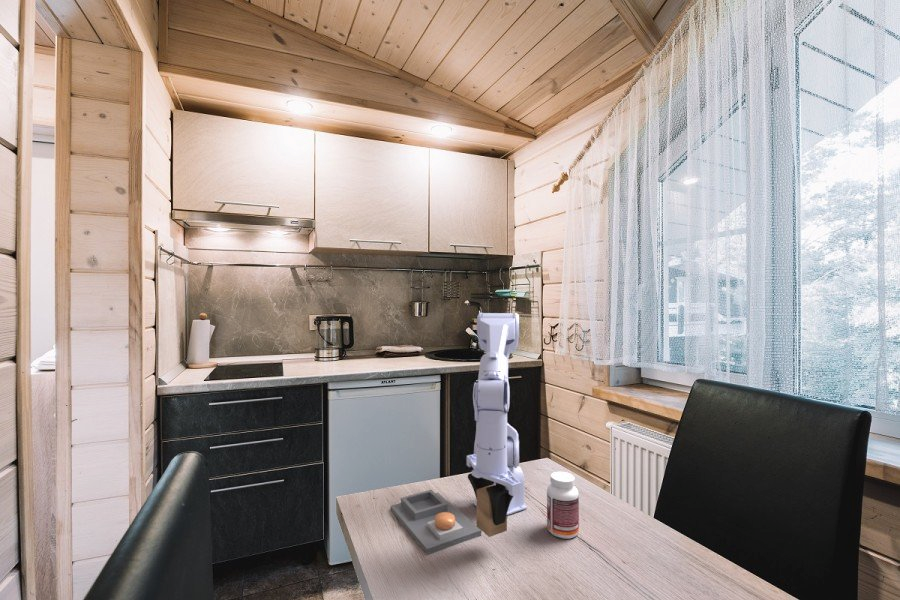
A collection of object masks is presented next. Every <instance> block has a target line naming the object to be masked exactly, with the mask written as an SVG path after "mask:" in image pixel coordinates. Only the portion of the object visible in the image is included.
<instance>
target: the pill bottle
mask: <svg viewBox="0 0 900 600" xmlns="http://www.w3.org/2000/svg"><path fill="white" fill-rule="evenodd" d="M575 479H576V477H575V476H574V475H573V474H572V473H569V472H566V471H554V472H552V473H551V474H550V484H549V485H548V486H547V488H546V518H547V519H546V527H547V531H548V532H549V533H550V534H551V535H552V536H555V537H557V538H559V539H565V540H568V539H573V538H575V537H577V536H578V534H579V533H580V523H579V521H580V519H579V517H580V514H579V511H580V509H579V508H580V503H579V502H580V501H579V498H580V497H579V495H580V494H579V490H578V488H577V487H576V486H575V484H576V482H575Z"/></svg>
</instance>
